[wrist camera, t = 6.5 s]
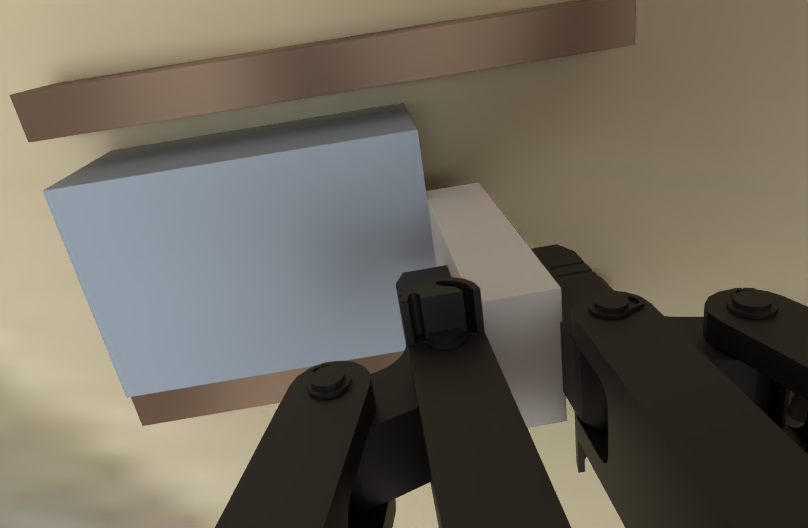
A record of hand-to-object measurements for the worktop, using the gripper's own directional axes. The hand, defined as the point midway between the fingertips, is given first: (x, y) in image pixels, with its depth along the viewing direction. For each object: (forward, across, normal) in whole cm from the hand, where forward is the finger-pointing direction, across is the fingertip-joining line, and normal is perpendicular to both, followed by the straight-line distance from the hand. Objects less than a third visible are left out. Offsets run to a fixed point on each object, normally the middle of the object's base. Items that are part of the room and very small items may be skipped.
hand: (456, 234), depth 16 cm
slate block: (+4, -5, 0) cm, 6 cm away
